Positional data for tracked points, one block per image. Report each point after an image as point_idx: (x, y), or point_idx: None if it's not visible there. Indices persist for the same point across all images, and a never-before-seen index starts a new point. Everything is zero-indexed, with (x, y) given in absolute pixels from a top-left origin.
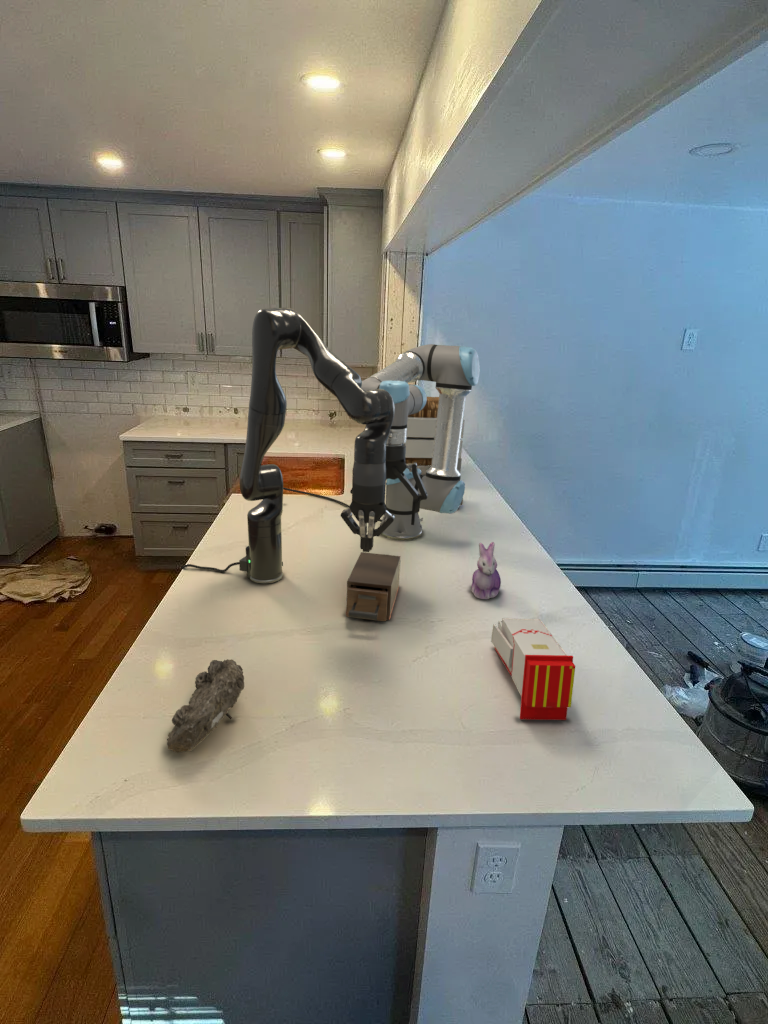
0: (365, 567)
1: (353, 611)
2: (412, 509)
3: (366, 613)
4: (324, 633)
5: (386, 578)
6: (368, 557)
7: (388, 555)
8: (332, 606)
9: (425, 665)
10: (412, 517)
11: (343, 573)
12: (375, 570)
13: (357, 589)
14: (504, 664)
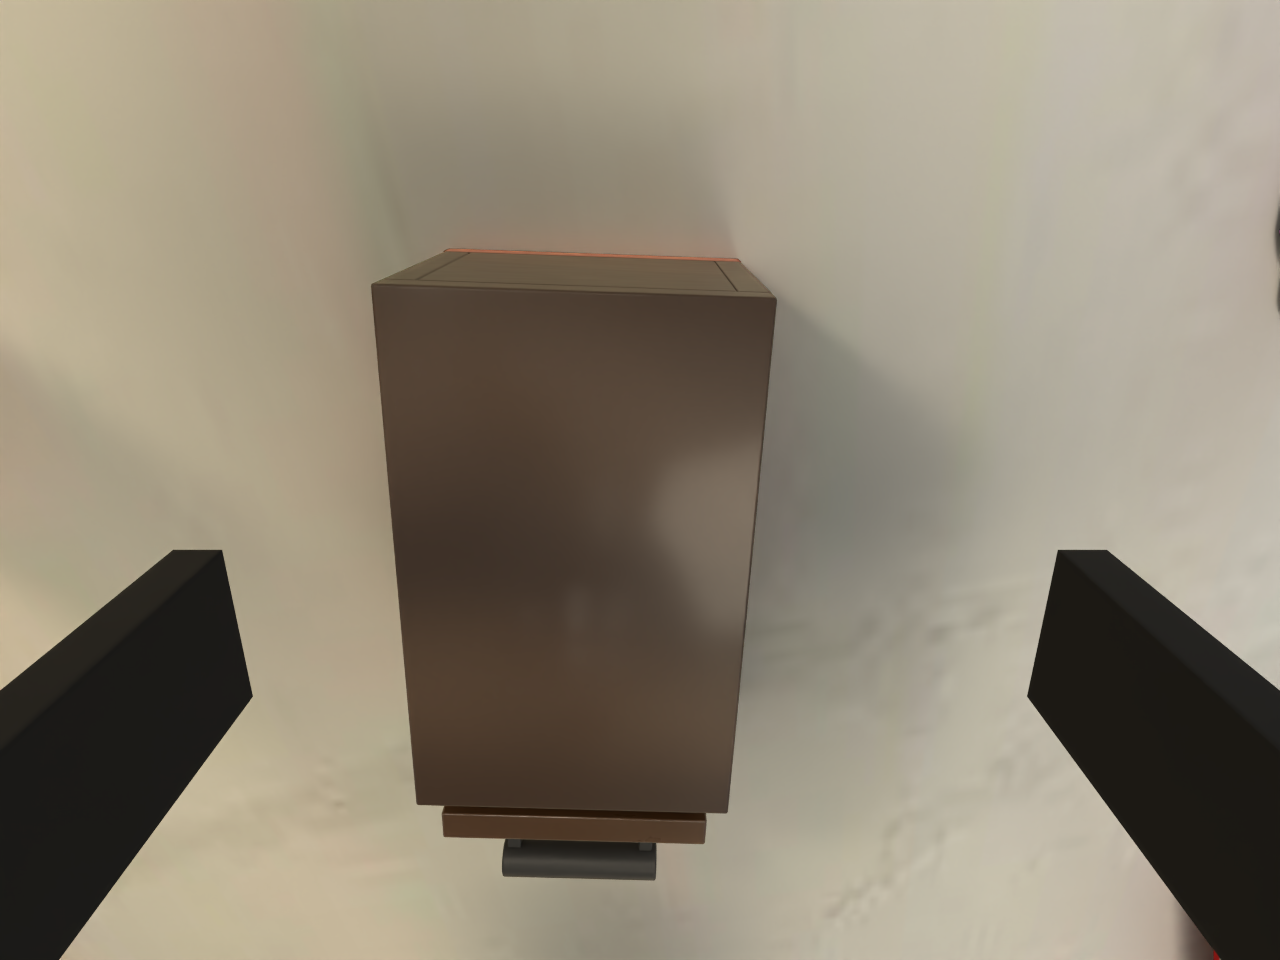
0: (493, 593)
1: (526, 875)
2: (1205, 929)
3: (599, 877)
4: (414, 807)
5: (684, 727)
6: (473, 396)
7: (655, 310)
8: (367, 581)
9: (878, 929)
10: (1111, 785)
11: (277, 99)
12: (583, 626)
13: (507, 828)
14: (1215, 956)
